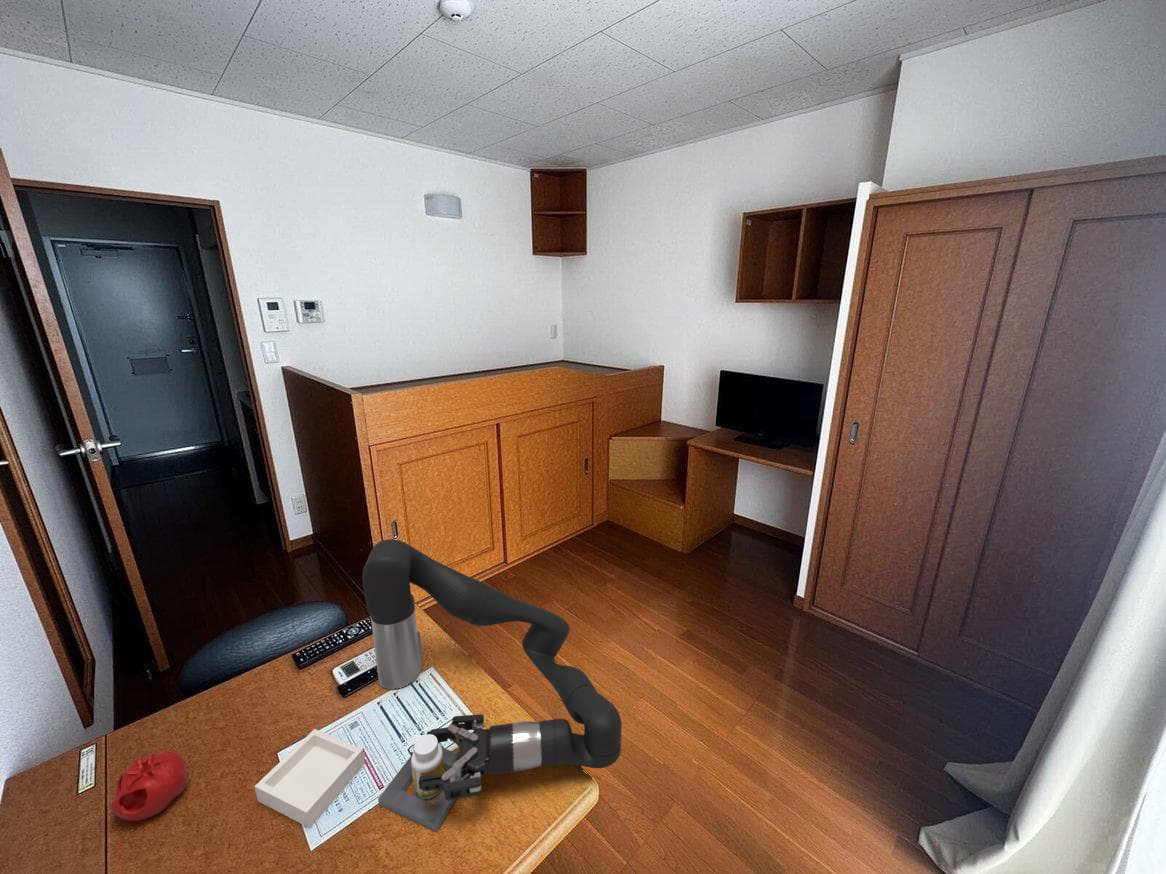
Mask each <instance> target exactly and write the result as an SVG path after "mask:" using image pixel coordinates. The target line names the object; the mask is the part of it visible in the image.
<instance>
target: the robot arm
mask: <svg viewBox="0 0 1166 874" xmlns="http://www.w3.org/2000/svg"><path fill="white" fill-rule="evenodd" d="M361 580H362V586H363V592H364V599H365V605H366V609H367V611H368V612H369V613H370V620H371V630H372V637H373V645H374V653H375V654H374V655H375V661H376V671H377V677H378V684H379V685H380V686H381V687H382V688H384V689H387V690H395V689H394V688H400V687H403V686H405V685H407V684H409V683H411V682H412V681H413V680H415V679H416V678H417V679H418V677H419V676H420V673H421V667H422V666H423V665H424V659H423V649H422V647H423V646H422V639H421V638H422V637H421V631H420V630H418V627H417V618H416V605H415V604H416V603H415V596H413V594H412V593H411V585H410V584H412V585H415V586H417V587H419V588H421V589H422V590H423V591H425V592H426V593H428V594H429V596H430V597H431V598H433V599H434V601H435V602H436V603H437V604H438V605H439V606H440V607H441V608H442V609H443V610H445V612H447V613H448V614H450V615H451V616H453V617H455V618H457V619H459V620H461V621H464V622H465V623H468V624H471V625H473V626H478V627H485V626H486V627H487V626H494V625H500V624H503V623H505V624H506V623H511V622H521V623H526V624H530V626H529V627H528V629H527V631H526V632H525V634H524V636H523V639H522V641H521V642H522V643H521V646H522V649H523V651H524V652H525V654H526V656H527V657H528V659H530V661H531V662H532V663H533V665H534V666H535V667H536V669H537V670H538V671H539V672H540V674H542V675H543V677H544V678H545V679H546V680H547V682H548V683H549V684H550V685H551V686H552V687H553V689H554V690H555V692H556V693H557V695H558V696H559V698H560V699H561V702H562V703H563V705H564V707H565V709H566V711H567V713H568V715H569V716H570V717H571V719H573V721H574V722H575V723H577V724H581V725H583V727H584V728H583V730H584V731H583V732H584V733H583V734H579V733H575V732H573V731H572V730H573V729H572V726H571V725H570V722H569V720H567V719H565V718H555V719H546V720H540V721H537V720H536V721H532V720H531V721H525V720H524V721H518V722H509V723H504V724H503V723H502V724H495V725H490V726H489V728H486V729H485V715H484V714H481V713H480V714H469V715H467V714H466V715H455V716H453V717H452V720H451V722H450V725H449V726H447V727H440V728H433V729H430V730H428V731H427V732H426V735H427V734H431V735H434V736H435V737H436V738H437V740H438V743H444V742H445V743H446V742H448V740H449V741H451V742H453V743H455V744H456V746H457V747H458V758H457V759H458V761H456V762H455V763H454V764H453V766H452V768H451V769H449V770H448V771H447V770H446V771H444V774H443V775H442V773H438V774H431V775H424V776H420V777H419V789H422V791H431V790H438V789H442V790H443V791H444V794H445V799H446V800H447V801H450V800H455V799H456V800H460V799H464V798H468V797H473V796H477V795H481V793H482V791H483V788H482V778H481V777H482V776H483V775H485V774H488V775H491V776H495V775H502V774H508V773H516V772H523V771H530V770H532V769H535V768H536V769H537V768H539V767H545V766H546V767H547V766H552V765H559V764H568V765H572V766H578V767H584V768H592V769H603V768H607V767H610V766H611V765H613V764H614V763H616V762H617V761H618V759H619V758H620V755H621V752H622V728H623V727H622V726H623V724H622V723H623V722H622V718H621V715H620V713H619V711H618V709H617V708H616V706H615V705H614V704H613V703H612V702H611V701H610V700H608V699H607V698H606V697H605V696H604V695H602V694H600V693H599V692H598V691H597V688H596V687H595V686H594V685H593V684H592V683H593V682H592V681H591V680H590V678H589V677H588V675H587V674H586V673H585V672H583V670H581V669H579V668H577V667H575V666H571V665H564V664H558V663H556V661H555V657H556V656H557V655H558V653H559V652H560V650H561V648H562V646H563V645H564V643H565V641H566V640H567V638H568V636H569V633H570V630H571V628H570V625H569V623H568V622H567V620H565V619H564V618H562V616H560V615H558V614H556V613H554V612H552V611H549V610H546V609H544V608H541V607H539V606H537V605H533V604H530V603H527V602H526V601H522V600H520V599H517V598H515V597H513V596H510V595H508V594H506V593H504V592H502V591H500V590H498V589H497V588H495V587H492V586H491V585H488V584H487V583H485V582H482V581H481V580H479V579H476V578H473V577H470V576H468V575H466V574H465V573H461V572H460V571H457V570H456V569H453V568H451V567H449V566H447V565H445V564H442V563H440V562H439V561H437V560H436V559H433V558H432V557H430V556H428V555H426V554H425V553H424V552H422V551H419V550H418V549H417V548H415V547H413V546H412V545H410V544H408V543H406V542H404V541H402V540H398V539H391V538H390V539H383V540H380V541H379V542H377V543H375V545H374V546H373V547H372V549H371V551H370V552H369V555H368V558H367V561H366V562H365V565H364V567H363V569H362V578H361ZM418 675H419V676H418ZM417 679H416V680H417ZM416 680H415V681H416ZM412 683H413V682H412ZM412 683H411V684H412ZM409 685H410V684H409ZM403 688H404V687H403ZM400 689H401V688H400ZM470 731H471V732H470ZM460 770H462V771H460ZM469 774H470V775H471V776H470V778H469V779H465V780H463V779H464V778H466V777H467V776H468V775H469ZM442 790H441V791H442Z"/></svg>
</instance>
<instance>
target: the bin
mask: <svg viewBox="0 0 1166 874" xmlns="http://www.w3.org/2000/svg"><path fill="white" fill-rule="evenodd" d="M364 765H366V762H365V756H364V749H362V748H360V747H358V746H356V745H353V744H352V743H349V742H347V741H344V740H342V739H340V738H337V737H335V736H332V735H330V734H328V733H325V732H323V731H321V730H319V729H316V728H314V729H313V730H312V731H310V733H309V734H307V736H306V737H304V739H303V740H301V741H300V742H298V744H297V745H296V746H295V747H294V748H293V749H292V750H291V751H290V752H289V753H288V754H287V755H286V756H285V757H284V758H282V759H281V761H280V762H278V764H276V765H275V766H274V767H273V768H272V769H271V770H270V771H268V773H267V774H266V775H265V776H264V777H263V778H262V779H261V780H259V781H258V783H256V784H255V786H254V790H255V791H254V792H255V794H256V795H255V796H256V799H257V802H258V803H260V804H263V805H265V806H266V807H268V808H270V809H271V810H274V811H276V812H277V813H280V814H282V815H283V816H285V817H287V818H290V819H291V820H293V821H295V822H297V823H299V824H301V825H303V826H304V827H307V828H308V829H310V828H311V827H312V826H313V824H315V822H316V821H317V820H318V819H319V818H320V816H321V815H322V814H323V813H324V812H325V811H326V810H327V809H328V807H329V806H330V805H331V804H332V803H333V801H335V799H336V798H337V797H338V795H339V794H340V793H341V792H342V791H343V790H344V788H345V787H346V786H347V785H348V784H349V783H350V781H352V779H353V778H354V777H355V776H356V775H357V773H358V772H359V771H360V770H361V769H362V768H363V766H364Z"/></svg>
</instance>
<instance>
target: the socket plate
mask: <svg viewBox="0 0 1166 874" xmlns="http://www.w3.org/2000/svg"><path fill="white" fill-rule="evenodd" d="M441 748H442V751H443V762H444V771H446V772H447V771H448V770H449V769H451V768H452V766H453V764H454V763H455V762H456V761H458V759H457V758H458V753H459V752H458V753H457V752H455V751H452V750H450V749H448V748H445V747H442V746H441ZM412 755H413V753H412V754H411V755H410V757H409V758H408V759H407V760H406V762H405V763H404V764H403V765H402V767H401V768H400V770H399V771H398V772H397V773H396V775H395V776H394V778H393V779H392V780H391V781H390V782H389V784H388V785H387V787H386V788H385V789H384V790H383V792H382V793H380V796H379V797H378V798H377V799H378V800H377V801H378V806H381V807H383V808H385V809H387V810H389V811H391V812H394V813H395V814H398V815H400V816H402V817H404V818H406V819H409V820H410V821H413V822H415V823H416V824H419V825H421V826H423V827H425V828H427V829H430V830H432V831H434V832H438V830H439V828H440V827H441V825H442V824H443V822H444V820H445V819H446V818H447V816H448V814H449V813H450V811H451V809H452V808H453V806H454V804H455V802H456V801H457V799H455V800H450V801H447V800H446V799H445V794H444V791H443V790H441V791H440V792H439V793H438V796H437V798H435V800H434V802H433V803H432V802H430V801H427V800H426V799H421V798H419V797H417V795H413V794H411V793H409V792H406V791H407V789H408V788H409V787H410V785H411V784H412V783H413V776H412V767H411V758H412ZM460 771H462V770H460ZM470 776H471V775H470V774H469V775H468V776H467V777H466V778H464V779H463V780H465V779H469V778H470Z"/></svg>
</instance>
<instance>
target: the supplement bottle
mask: <svg viewBox="0 0 1166 874" xmlns="http://www.w3.org/2000/svg"><path fill="white" fill-rule="evenodd" d="M441 747H442V746H441V745H440V744H439V742H438V740H437V738H436V737H435V736H434V735H431V734H427V733H426V734H423V735H422V736H420V737H419V738H417V740H416V741H415V743H414V745H413V752H412V754H413V755H412V754H411V755H412V758H411V767H412V776H413V781H412V784H413V791H414V794H415V796H416V797H418V798H420V799H423V800H428V799H429V800H430V799H432V798H434V797H436V796H437V795H439V794H440V792H441V791H442V789H438V790H431V791H422V789H419V777H420V776H424V775H431V774H438V773H442V775H443V774H444V773H445V770H444V762H443V751H442V748H443V747H442V748H441Z"/></svg>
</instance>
